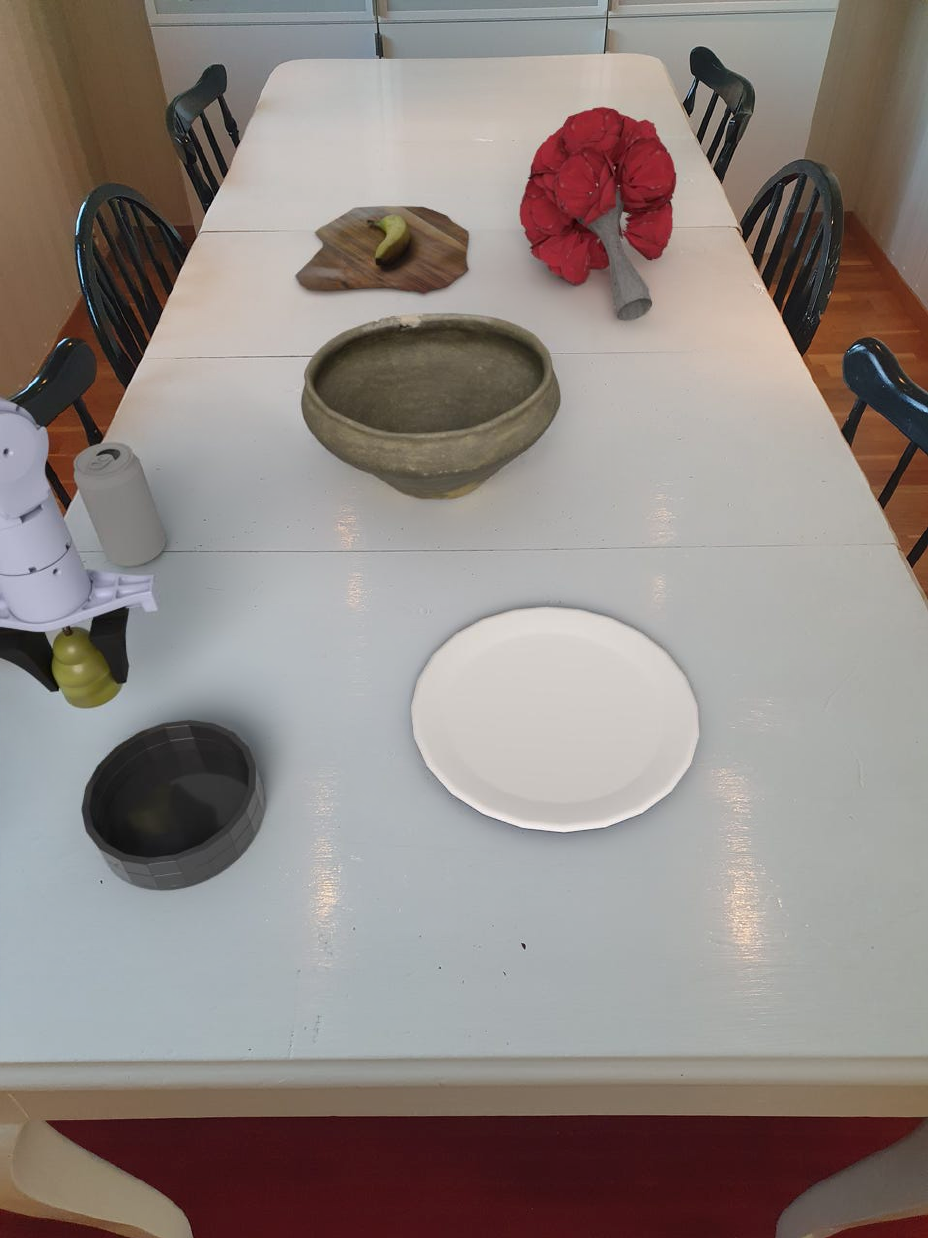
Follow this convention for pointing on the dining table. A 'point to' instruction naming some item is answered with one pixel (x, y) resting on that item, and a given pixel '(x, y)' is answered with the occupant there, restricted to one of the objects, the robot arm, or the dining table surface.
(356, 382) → the bowl
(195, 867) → the pan
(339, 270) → the cutting board
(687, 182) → the dining table surface
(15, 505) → the robot arm
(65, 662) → the pear
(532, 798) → the plate
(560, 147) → the bouquet
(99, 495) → the beverage can
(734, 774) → the dining table surface
